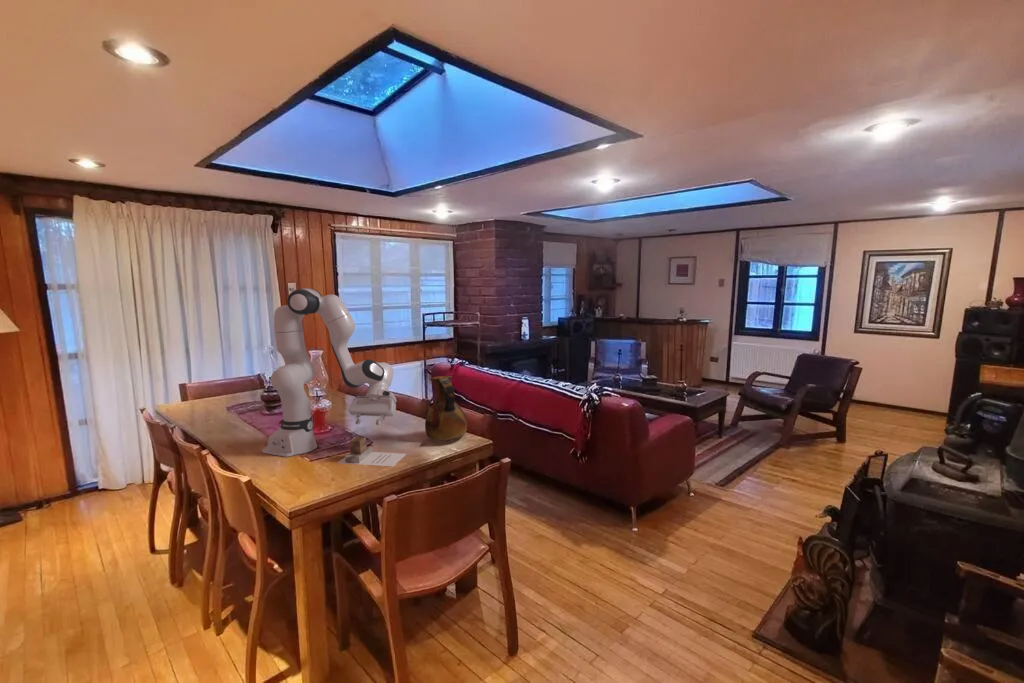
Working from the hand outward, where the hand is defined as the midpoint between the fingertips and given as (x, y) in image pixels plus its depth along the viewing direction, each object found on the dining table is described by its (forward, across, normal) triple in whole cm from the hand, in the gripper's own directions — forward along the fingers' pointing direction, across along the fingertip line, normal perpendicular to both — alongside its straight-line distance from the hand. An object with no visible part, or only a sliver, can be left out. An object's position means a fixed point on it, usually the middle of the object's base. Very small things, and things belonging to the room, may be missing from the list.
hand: (367, 424), depth 189 cm
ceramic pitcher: (-6, +28, +25) cm, 38 cm away
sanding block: (+14, 0, +2) cm, 14 cm away
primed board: (+15, +6, +3) cm, 17 cm away
